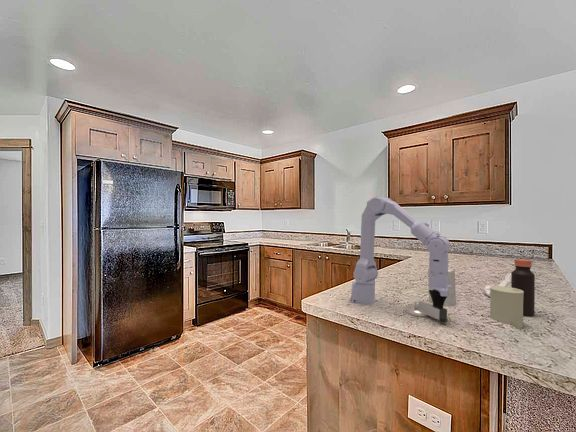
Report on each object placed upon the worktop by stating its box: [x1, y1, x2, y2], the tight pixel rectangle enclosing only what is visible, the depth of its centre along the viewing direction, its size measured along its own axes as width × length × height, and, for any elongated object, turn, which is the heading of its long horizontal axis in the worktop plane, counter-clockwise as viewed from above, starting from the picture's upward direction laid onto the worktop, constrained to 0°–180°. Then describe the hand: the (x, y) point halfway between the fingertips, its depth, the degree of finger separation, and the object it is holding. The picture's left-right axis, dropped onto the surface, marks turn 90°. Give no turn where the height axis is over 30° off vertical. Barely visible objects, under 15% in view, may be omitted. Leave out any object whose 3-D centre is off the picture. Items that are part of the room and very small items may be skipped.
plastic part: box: [482, 271, 512, 298], centre depth 129 cm, size 8×10×12 cm
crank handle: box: [403, 300, 448, 323], centre depth 99 cm, size 17×9×5 cm, turn 18°
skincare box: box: [427, 268, 457, 307], centre depth 115 cm, size 8×6×15 cm
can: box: [489, 285, 525, 329], centre depth 97 cm, size 9×9×12 cm
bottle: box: [510, 258, 536, 317], centre depth 107 cm, size 7×7×20 cm
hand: (438, 312), depth 97 cm, fingers closed, pressing on crank handle
